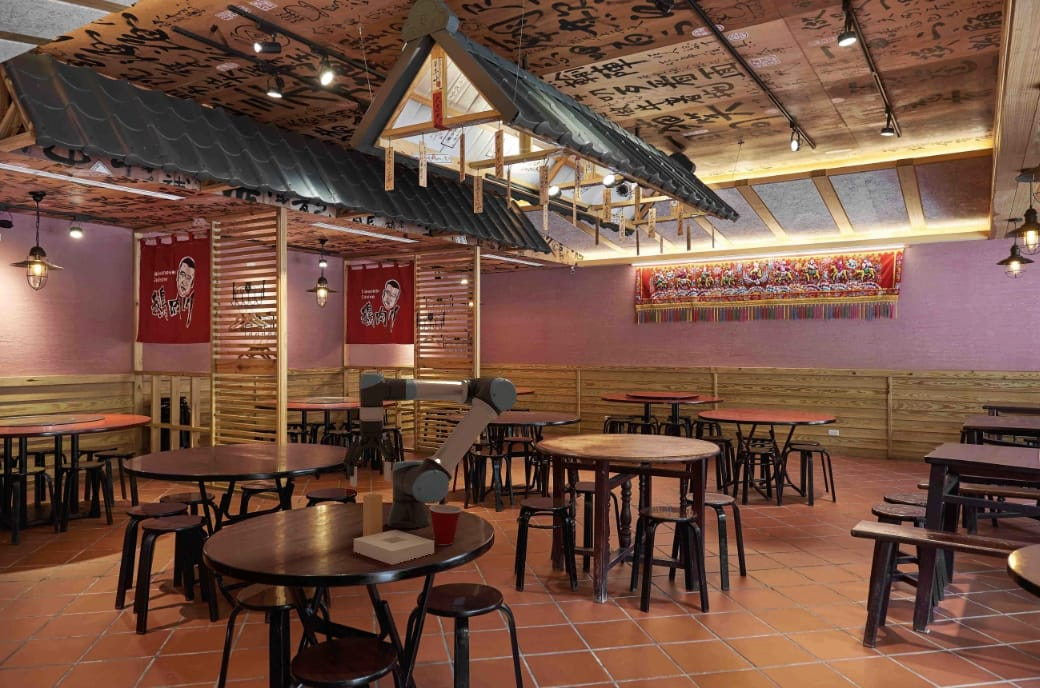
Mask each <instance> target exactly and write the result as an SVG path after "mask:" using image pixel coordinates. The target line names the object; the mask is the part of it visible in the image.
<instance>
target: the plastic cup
mask: <svg viewBox="0 0 1040 688" xmlns="http://www.w3.org/2000/svg"><path fill="white" fill-rule="evenodd" d="M428 508H429V511H430V514H431V516H430V517H431V521H432V528H433V534H434V539H435V540H434V542H435V544H436V543H437V544H450V543H453V542H454V543H455V538H456V533H457V528H458V523H459V518H460V515H461V512H463V508H462V507H460V506H457V505H456V506H455V505H451V504H434V505H430V506H429V507H428ZM454 543H453V544H454ZM437 544H436V545H437Z"/></svg>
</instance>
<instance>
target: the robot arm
mask: <svg viewBox="0 0 1040 688" xmlns="http://www.w3.org/2000/svg"><path fill="white" fill-rule="evenodd" d="M359 381H360V382H359V383H360V384H359V390H360V391H359V392H360V393H359V397H360V398H359V399H360V401H359V404H360V405H359V412H360V413H359V419H360V421H359V432H360V434H359V435H355V434H354V435H352V436H351V442H350V445H349V447H348V449H347V452H346V454H345V456H344V459H343V461H342V464H343V465H344V466H347V467H348V470H347V471H348V473H347V474H348V477H350V478H349V480H350V481H349V482H350V483H349V486H350V487H353V488H356V487H358V466H356V465H357V463H358V462H359V460H360V458H362V455H363V454H364V452H366V450H367V449H372V448H374V449H375V448H376V449H377V450H378V451H379V452H380V454H381V455H382V456H383V457H384V458H385V461H384V466H383V467H384V473H383V476H384V478H383V479H384V480H383V481H385V482H389V483H390V482H392V505H391V508H390V511H389V515H388V517H387V526H388V527H390V528H393V529H398V528H414V529H417V528H416V527H421V528H423V527H422V526H425V525H427V524H429V523H431V521H430V517H431V516H430V515H429V512H428V509H427V505H426V504H429V505H432V504H437V503H439V502H441V501H442V500H443V499H445V497H446V496H447V495H448V493H449V491H450V487H449V485H450V482H451V480H452V479H453V470H455V468H456V467H457V465H458V464H459V462H461V460H462V459H463V457H464V456H465V455H466V454H467V452H468V451H469V449H470V448H471V447H472V446H473V444H474V443H475V442H476V440H477V439H478V438H479V436H480V435H481V434H482V432H483V431H484V430H485V429H486V427H487V426H488V424H489V423H490V421H492V420H493V421H495V420H498V418H499V417H500V416H501V414H502V413H503V412H505V411H509V410H511V409H512V408H513V407H514V406H515V405H516V403H517V397H518V395H517V388H516V386H515V384H514V383H513V382H512V381H511V380H509V379H506V378H504V377H486V376H483V377H482V376H481V377H474V378H460V379H458V380H445V379H444V380H439V379H419V378H418V379H416V378H415V379H414V378H394V377H393V378H392V377H384V374H382V373H363V374H361V376H360V379H359ZM413 400H415V401H439V402H440V401H441V402H442V401H444V402H446V401H447V402H457V403H458V404H461V405H470V406H471V407H470V408H469V410H468V411H467V412H466V414H465V415H464V416H463V417H462V419H461V420H460V421H459V423H457V425H456V427H455V428H454V429H453V430H452V432H451V433H450V434H449V435H448V437H447V438H446V439H445V440H444V441H443V443H442V444H441V446H440V447H438V449H437V450H436V452H435V453H434V454H433V455H432V456H427V457H426V458H425V459H424V460H423V459H422V460H419V459H418V460H417V459H416V460H408V461H407V460H404V461H403V460H402V461H397V462H395V461H396V460H398V457H399V456H398V453H397V452H396V449H395V447H394V445H393V442H392V440H391V433H390V432H383V429H384V427H383V426H384V421H383V419H384V402H407V401H408V402H409V401H413ZM382 440H383V442H384V443H383V442H382ZM359 442H360V443H359ZM393 462H394V463H393ZM429 525H430V524H429ZM427 526H428V525H427ZM425 527H426V526H425Z"/></svg>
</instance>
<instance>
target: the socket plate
mask: <svg viewBox="0 0 1040 688" xmlns="http://www.w3.org/2000/svg"><path fill="white" fill-rule="evenodd" d="M356 552H357V554H359V553H360V554H359V555H363V556H365V557H369V558H371V559H374V560H378V561H380V562H383V563H385V564H388V565H392V566H393V565H397V564H400V562H401V563H404V561H405V562H408V561H412V560H415V559H414V558H416V559H420V558H422V557H421V556H424V557H426V556H425V555H428V554H431V555H433V554H432V553H434V554H435V540H432V539H428V538H425V537H421V536H419V535H415V534H411V533H408V532H405V531H401V530H397V529H393V530H388V531H382V533H378V534H373V535H369V536H364V537H363V536H361V537H356V538H353V553H356ZM428 556H429V555H428ZM419 557H420V558H419ZM411 559H412V560H411Z"/></svg>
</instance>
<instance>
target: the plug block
mask: <svg viewBox="0 0 1040 688" xmlns="http://www.w3.org/2000/svg"><path fill="white" fill-rule="evenodd" d="M362 497H363V498H362V499H363V500H362V504H363V505H362V506H363V507H362V509H363V510H362V537H364V536H369V535H373V534H378V533H383V494H379V493H374V492H373V493H369V494H368V493H367V494H363V495H362Z"/></svg>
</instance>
